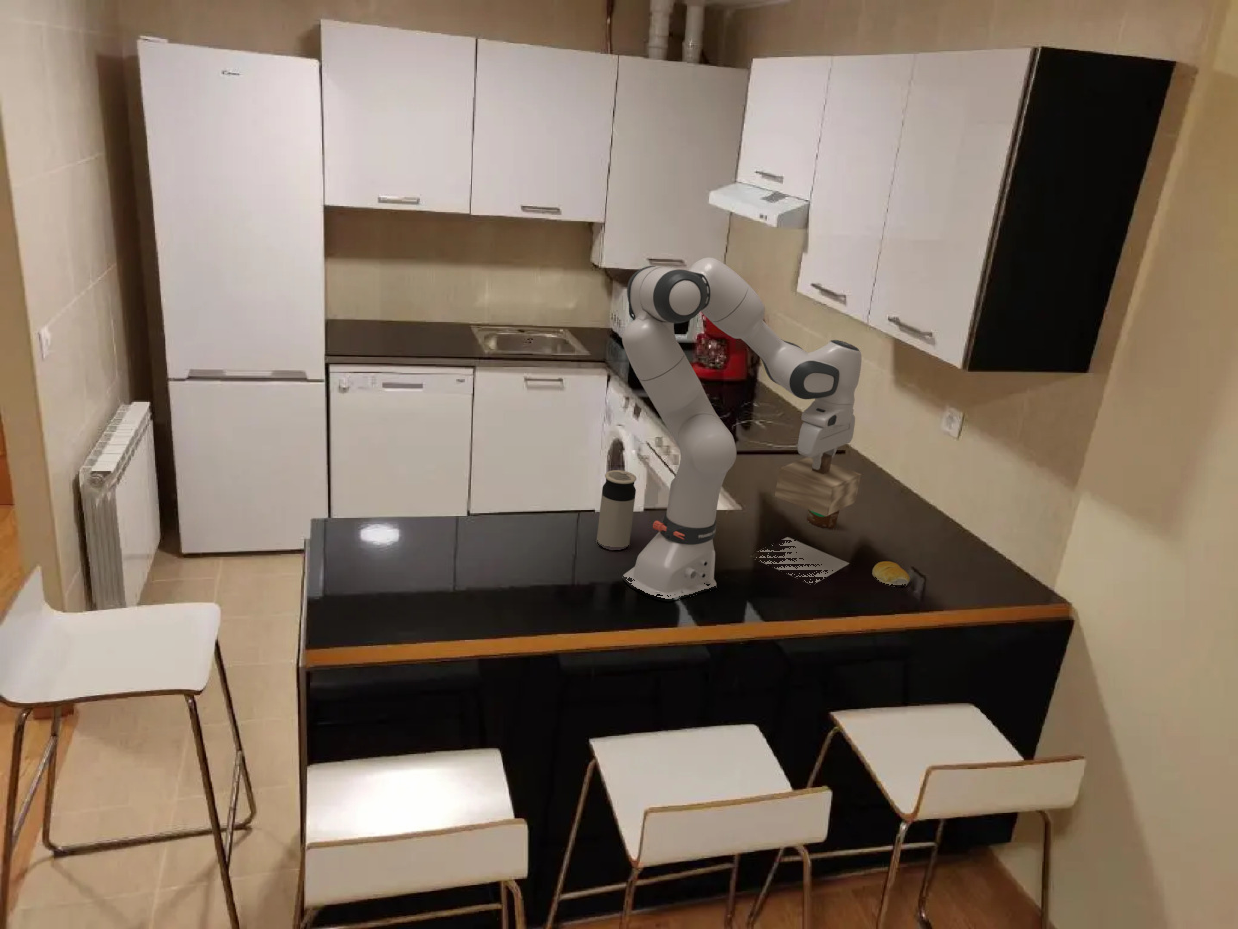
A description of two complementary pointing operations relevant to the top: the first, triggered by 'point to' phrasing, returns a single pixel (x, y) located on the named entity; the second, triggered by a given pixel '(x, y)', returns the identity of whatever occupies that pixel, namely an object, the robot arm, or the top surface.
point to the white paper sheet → (807, 559)
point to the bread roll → (890, 573)
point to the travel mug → (616, 509)
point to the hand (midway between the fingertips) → (821, 466)
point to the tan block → (817, 485)
